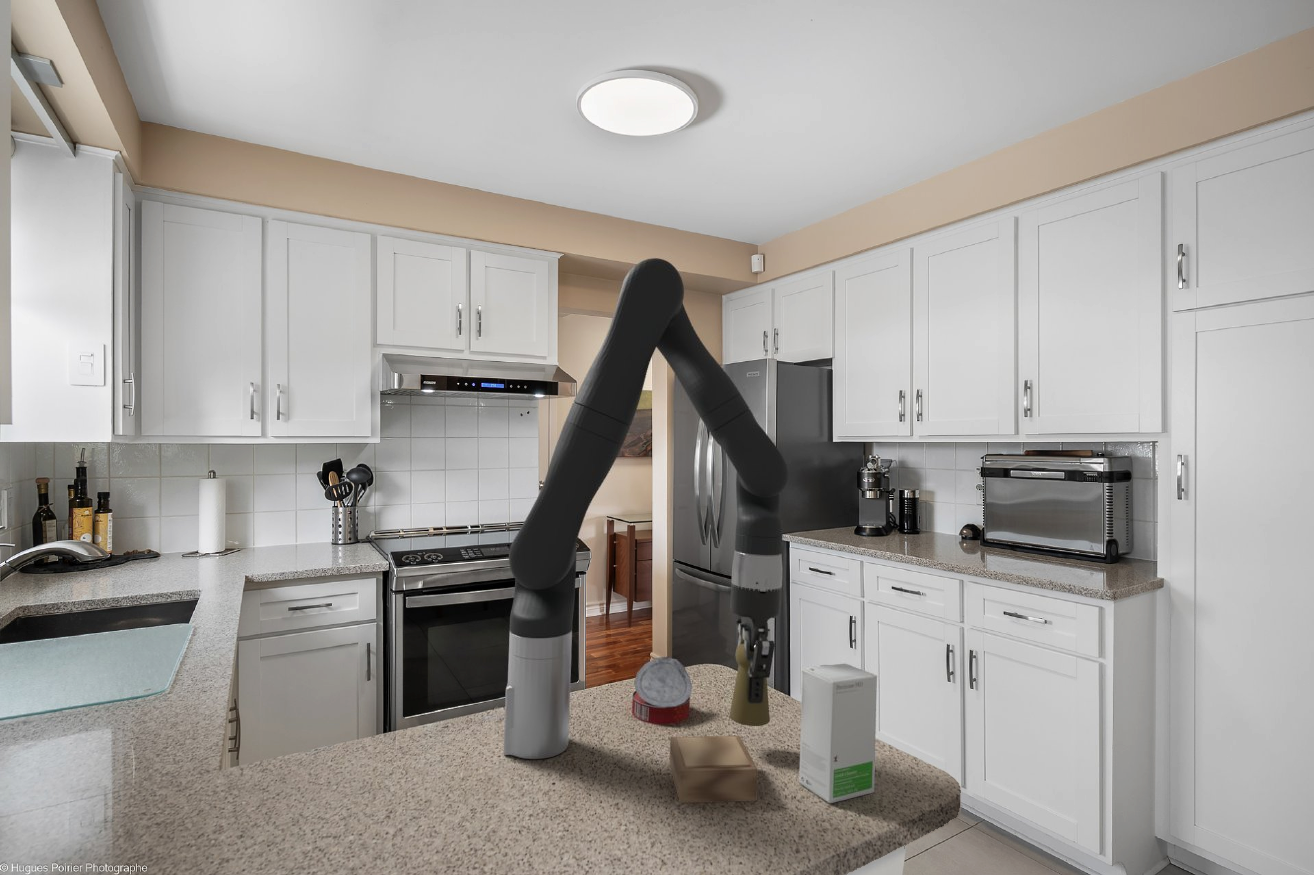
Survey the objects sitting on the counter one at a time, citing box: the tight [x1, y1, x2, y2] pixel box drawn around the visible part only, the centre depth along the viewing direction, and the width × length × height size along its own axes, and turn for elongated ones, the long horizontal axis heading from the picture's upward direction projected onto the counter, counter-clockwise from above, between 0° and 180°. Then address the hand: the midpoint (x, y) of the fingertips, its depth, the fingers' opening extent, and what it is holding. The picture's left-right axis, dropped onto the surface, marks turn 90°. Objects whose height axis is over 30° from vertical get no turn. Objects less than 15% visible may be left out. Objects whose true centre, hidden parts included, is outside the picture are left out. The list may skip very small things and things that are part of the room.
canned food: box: [631, 656, 693, 726], centre depth 114 cm, size 11×10×10 cm
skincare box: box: [798, 663, 878, 804], centre depth 90 cm, size 8×7×16 cm
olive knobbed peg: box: [729, 643, 771, 727], centre depth 100 cm, size 6×6×11 cm
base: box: [669, 735, 759, 804], centre depth 90 cm, size 10×10×4 cm
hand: (750, 696), depth 100 cm, fingers closed on olive knobbed peg, 4 cm apart
